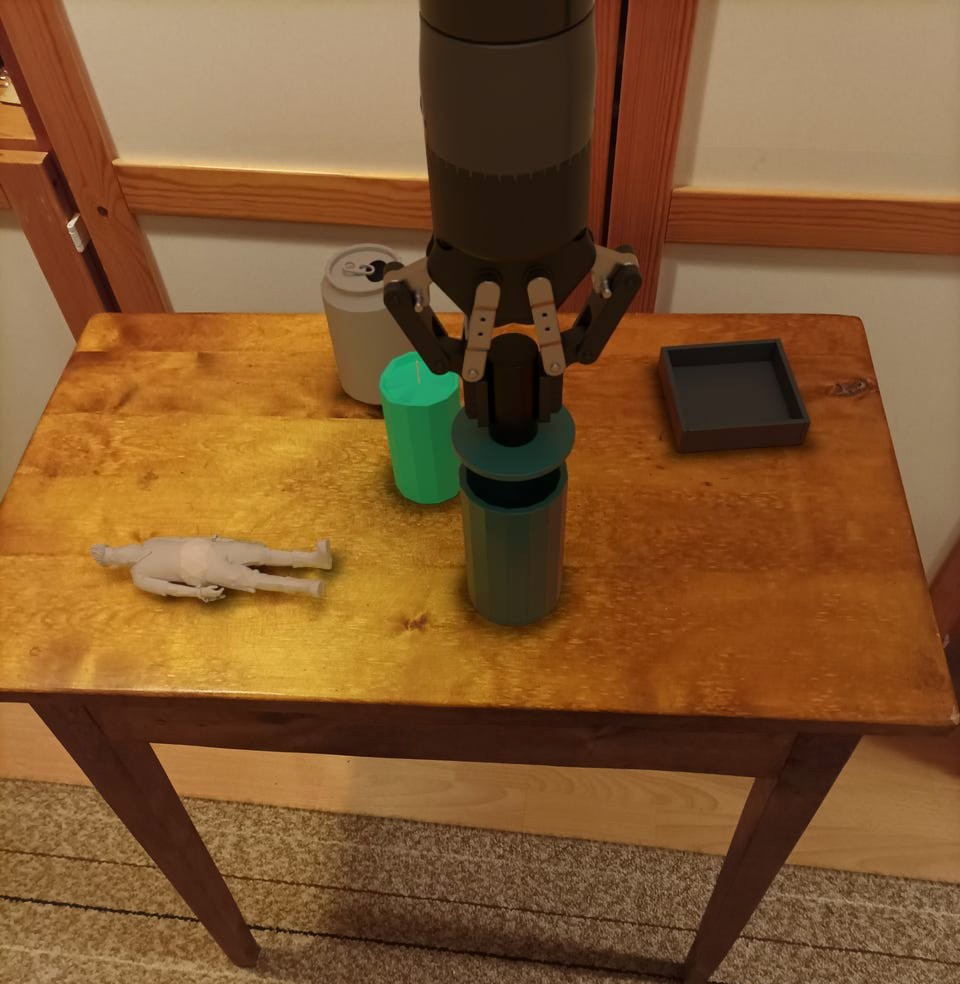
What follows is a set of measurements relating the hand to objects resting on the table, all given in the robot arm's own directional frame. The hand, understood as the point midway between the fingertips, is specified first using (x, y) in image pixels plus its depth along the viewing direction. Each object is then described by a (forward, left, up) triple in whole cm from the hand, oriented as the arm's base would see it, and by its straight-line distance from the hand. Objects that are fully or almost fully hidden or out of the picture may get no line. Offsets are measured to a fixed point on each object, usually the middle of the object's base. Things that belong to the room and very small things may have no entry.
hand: (513, 414), depth 54 cm
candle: (+6, -12, -18) cm, 22 cm away
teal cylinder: (0, 0, -17) cm, 17 cm away
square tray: (-20, -18, -17) cm, 32 cm away
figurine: (+23, -3, -18) cm, 29 cm away
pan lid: (0, 0, -2) cm, 2 cm away
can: (+10, -24, -18) cm, 31 cm away
